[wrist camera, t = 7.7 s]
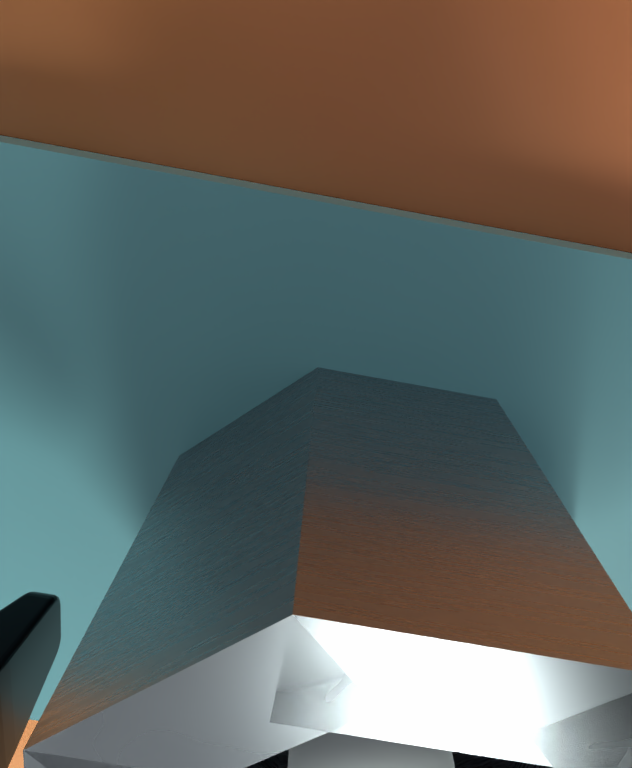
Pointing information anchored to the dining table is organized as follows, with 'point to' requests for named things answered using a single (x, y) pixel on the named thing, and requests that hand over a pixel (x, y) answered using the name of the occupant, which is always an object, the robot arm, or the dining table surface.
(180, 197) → the shaft base
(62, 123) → the dining table surface
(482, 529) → the block
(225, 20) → the dining table surface
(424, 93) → the dining table surface
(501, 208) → the dining table surface
